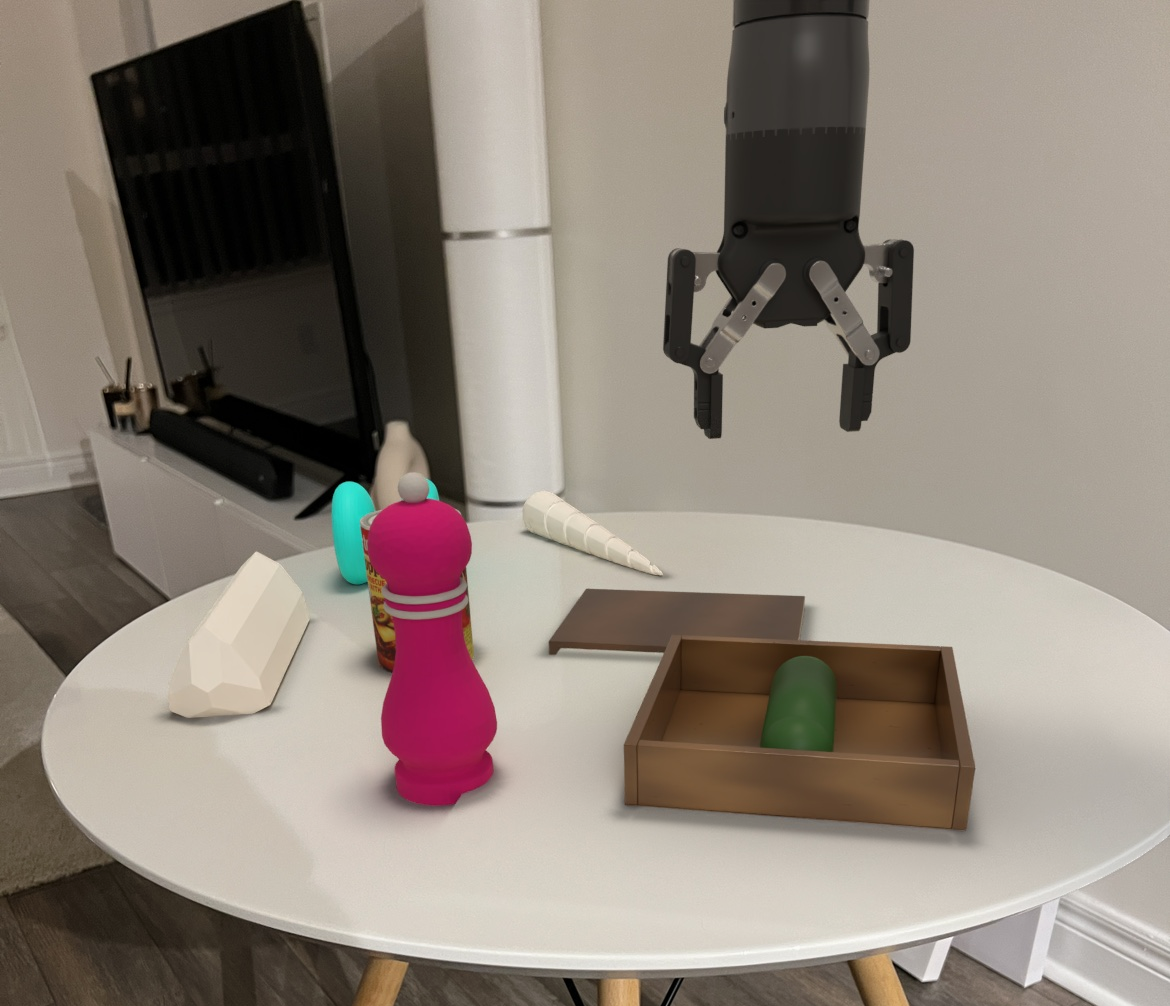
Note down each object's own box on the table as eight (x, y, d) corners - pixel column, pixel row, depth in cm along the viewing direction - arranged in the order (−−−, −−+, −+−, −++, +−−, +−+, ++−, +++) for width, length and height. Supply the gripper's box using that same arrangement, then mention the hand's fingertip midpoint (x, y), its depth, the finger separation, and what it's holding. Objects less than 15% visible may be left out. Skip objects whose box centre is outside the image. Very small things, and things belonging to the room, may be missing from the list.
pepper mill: (424, 755, 75) (388, 457, 66) (520, 769, 73) (497, 461, 63) (368, 804, 69) (321, 483, 60) (471, 821, 67) (438, 490, 58)
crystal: (283, 674, 79) (328, 575, 100) (185, 631, 77) (253, 540, 98) (246, 757, 82) (298, 644, 103) (151, 719, 80) (224, 611, 101)
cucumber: (772, 703, 78) (774, 645, 76) (835, 706, 77) (839, 647, 75) (755, 795, 66) (757, 729, 64) (829, 800, 65) (834, 734, 63)
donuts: (442, 592, 107) (432, 489, 103) (339, 598, 107) (324, 495, 102) (447, 563, 116) (437, 467, 111) (351, 568, 116) (338, 472, 111)
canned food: (358, 667, 90) (338, 522, 85) (424, 638, 96) (409, 500, 90) (428, 686, 86) (412, 535, 81) (493, 655, 92) (481, 511, 86)
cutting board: (804, 611, 98) (805, 595, 98) (795, 670, 86) (796, 652, 86) (586, 603, 103) (585, 588, 102) (549, 658, 91) (548, 641, 90)
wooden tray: (944, 712, 78) (952, 646, 76) (964, 845, 62) (975, 766, 60) (671, 697, 82) (671, 634, 80) (624, 818, 66) (623, 744, 64)
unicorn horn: (630, 587, 107) (629, 537, 104) (520, 535, 125) (517, 492, 123) (671, 578, 109) (670, 530, 106) (557, 529, 127) (555, 486, 125)
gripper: (677, 125, 56) (676, 451, 63) (949, 115, 57) (917, 438, 64) (655, 134, 63) (657, 429, 70) (899, 125, 63) (875, 417, 71)
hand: (781, 433), depth 67 cm, fingers open, 8 cm apart
